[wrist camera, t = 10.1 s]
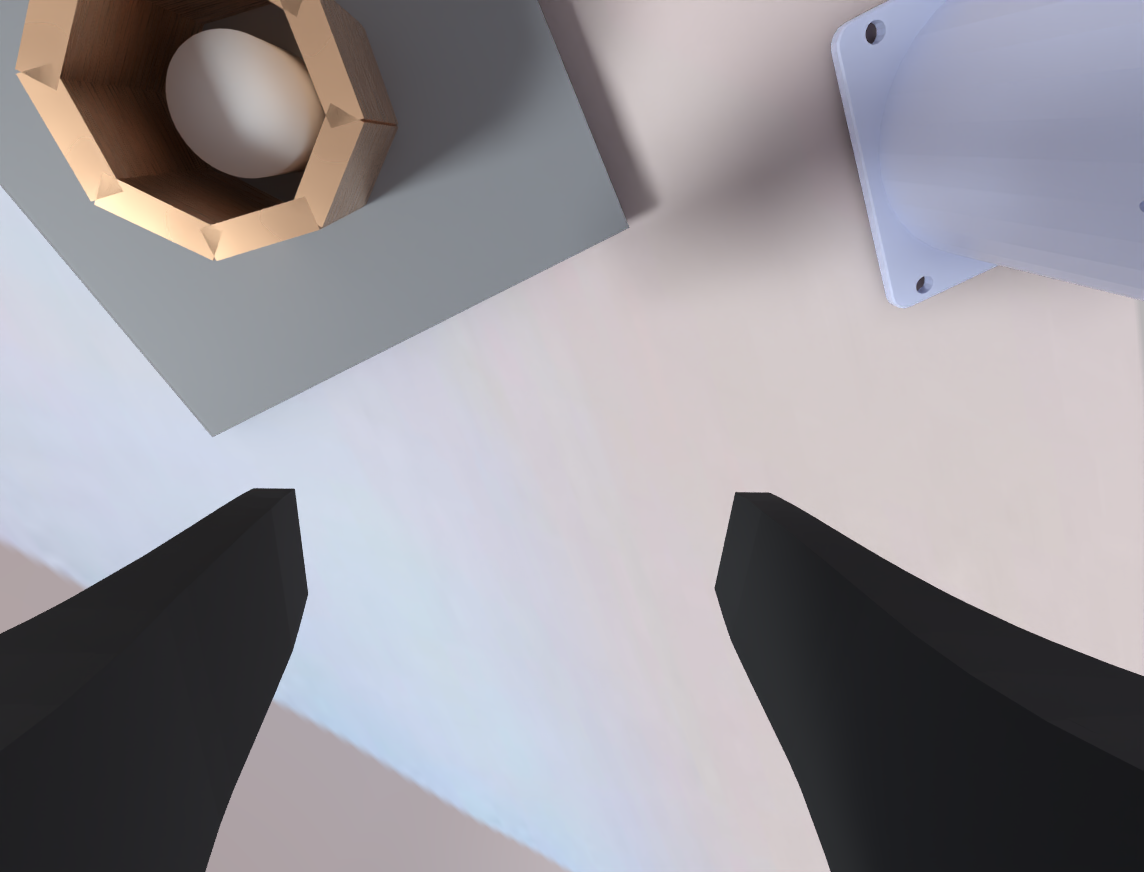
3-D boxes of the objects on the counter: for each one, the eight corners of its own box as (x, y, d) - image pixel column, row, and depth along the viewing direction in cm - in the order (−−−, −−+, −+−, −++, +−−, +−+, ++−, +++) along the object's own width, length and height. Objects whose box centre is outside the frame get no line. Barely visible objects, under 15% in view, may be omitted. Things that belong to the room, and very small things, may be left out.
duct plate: (386, -356, 12) (350, -527, 9) (622, 223, 17) (650, 241, 14) (-145, -30, 13) (-341, -82, 10) (225, 422, 19) (172, 480, 15)
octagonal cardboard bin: (198, -78, 13) (66, -177, 9) (424, 64, 14) (398, 35, 10) (133, 152, 14) (-4, 157, 10) (343, 258, 16) (294, 298, 12)
